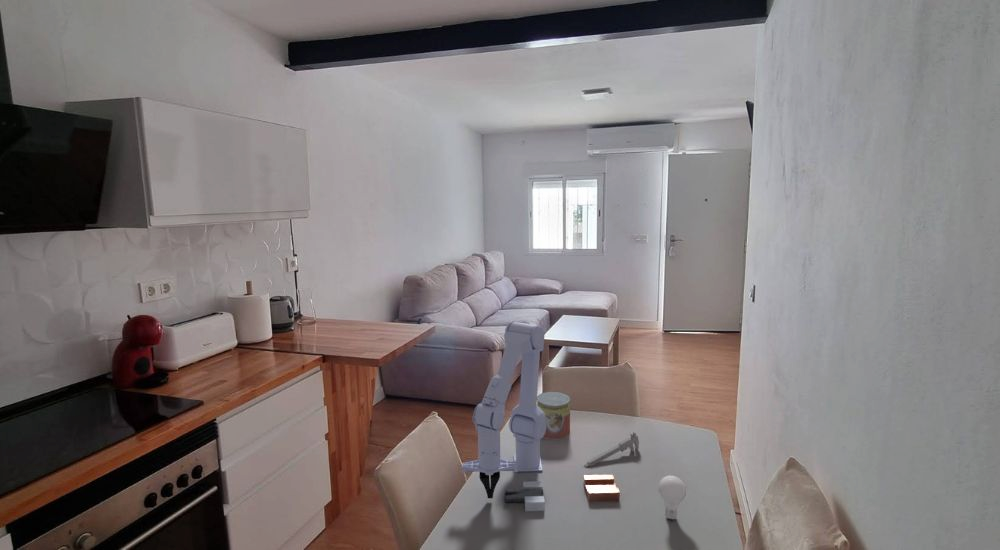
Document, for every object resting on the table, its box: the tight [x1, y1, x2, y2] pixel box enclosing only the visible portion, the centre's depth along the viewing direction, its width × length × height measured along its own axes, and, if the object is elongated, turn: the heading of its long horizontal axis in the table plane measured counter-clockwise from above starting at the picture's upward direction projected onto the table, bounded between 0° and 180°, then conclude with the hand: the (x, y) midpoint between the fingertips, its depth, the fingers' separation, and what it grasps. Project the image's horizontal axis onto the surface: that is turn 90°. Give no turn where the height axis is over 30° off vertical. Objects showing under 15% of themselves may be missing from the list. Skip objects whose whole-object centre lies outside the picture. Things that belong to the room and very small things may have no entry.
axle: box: [504, 488, 545, 503], centre depth 127 cm, size 10×3×3 cm, turn 90°
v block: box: [583, 474, 621, 503], centre depth 130 cm, size 8×8×2 cm
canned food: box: [537, 391, 571, 441], centre depth 162 cm, size 11×11×12 cm
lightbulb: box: [658, 475, 687, 520], centre depth 118 cm, size 6×6×11 cm
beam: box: [522, 480, 546, 512], centre depth 127 cm, size 9×5×2 cm, turn 0°
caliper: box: [583, 431, 640, 468], centre depth 146 cm, size 20×1×6 cm, turn 117°
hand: (490, 496), depth 127 cm, fingers closed
